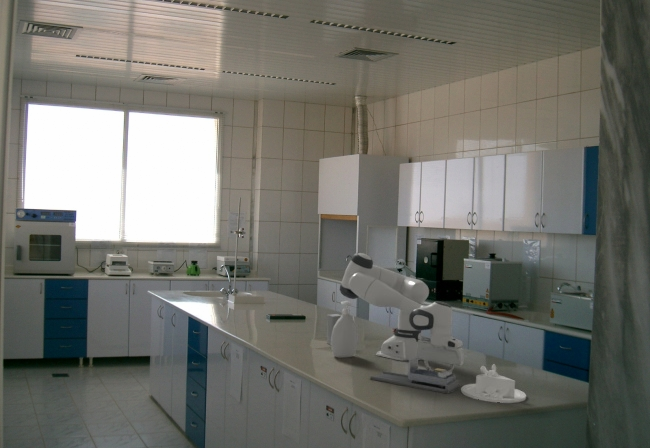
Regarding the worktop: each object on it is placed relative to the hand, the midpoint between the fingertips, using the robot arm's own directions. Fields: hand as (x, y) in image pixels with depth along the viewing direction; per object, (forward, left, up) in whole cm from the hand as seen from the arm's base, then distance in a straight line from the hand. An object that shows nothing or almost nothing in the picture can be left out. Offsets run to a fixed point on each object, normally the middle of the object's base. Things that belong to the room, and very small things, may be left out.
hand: (439, 372), depth 279 cm
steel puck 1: (+7, -15, +1) cm, 16 cm away
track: (-6, -13, -3) cm, 14 cm away
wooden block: (0, 0, -3) cm, 3 cm away
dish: (+25, -7, -4) cm, 26 cm away
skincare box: (-72, +36, -3) cm, 80 cm away
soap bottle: (-54, +13, -3) cm, 55 cm away
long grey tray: (+2, -13, -2) cm, 13 cm away
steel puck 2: (+7, -10, +1) cm, 13 cm away
